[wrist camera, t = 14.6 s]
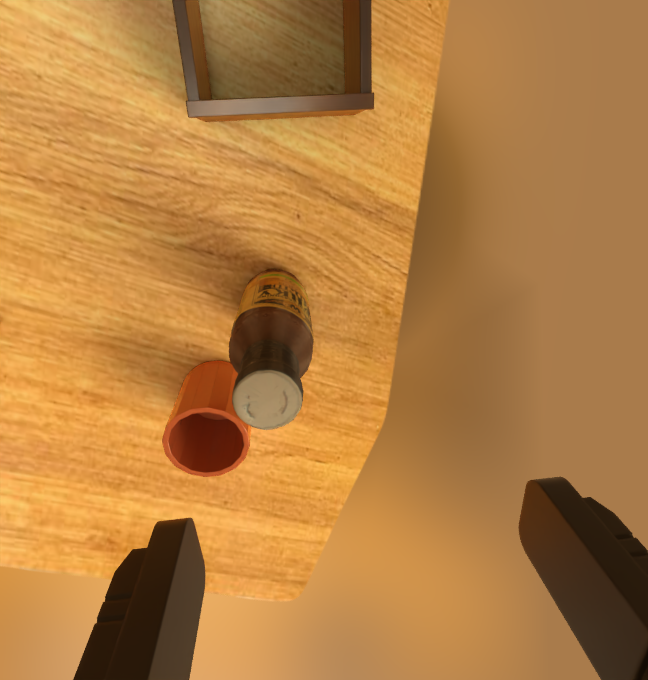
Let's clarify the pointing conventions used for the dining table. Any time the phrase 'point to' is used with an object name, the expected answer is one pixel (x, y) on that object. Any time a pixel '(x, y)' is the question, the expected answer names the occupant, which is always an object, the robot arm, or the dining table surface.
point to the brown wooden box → (277, 107)
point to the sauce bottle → (271, 350)
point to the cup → (206, 423)
